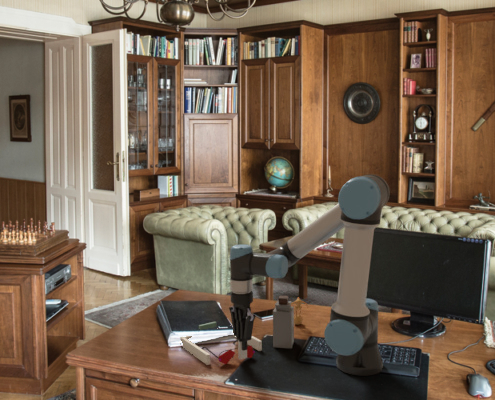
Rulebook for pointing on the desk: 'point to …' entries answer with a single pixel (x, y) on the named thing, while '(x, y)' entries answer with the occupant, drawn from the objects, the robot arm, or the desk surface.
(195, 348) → the display cradle
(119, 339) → the desk surface
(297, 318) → the figurine
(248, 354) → the glasses
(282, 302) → the perfume bottle
